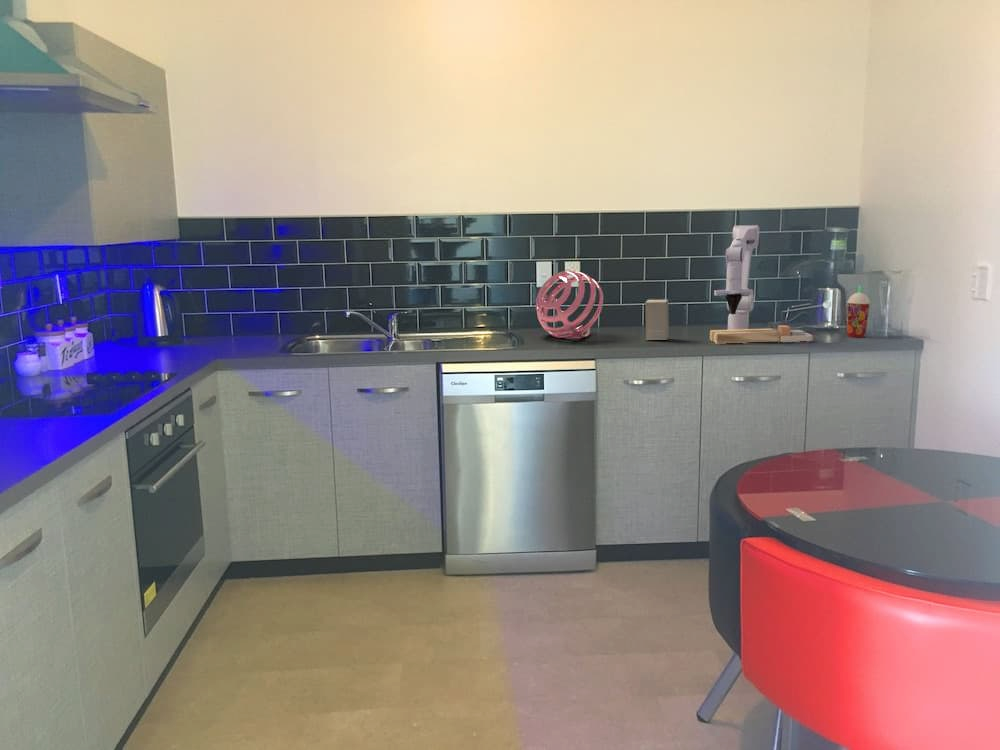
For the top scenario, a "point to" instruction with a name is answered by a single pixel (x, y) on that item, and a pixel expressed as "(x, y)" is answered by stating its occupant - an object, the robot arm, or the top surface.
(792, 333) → the tile
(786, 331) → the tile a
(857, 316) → the smoothie
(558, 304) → the spiral basket
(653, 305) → the skincare box
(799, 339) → the tray
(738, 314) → the robot arm
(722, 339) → the board
